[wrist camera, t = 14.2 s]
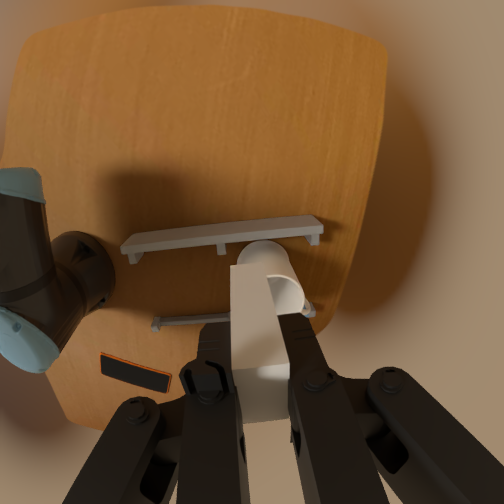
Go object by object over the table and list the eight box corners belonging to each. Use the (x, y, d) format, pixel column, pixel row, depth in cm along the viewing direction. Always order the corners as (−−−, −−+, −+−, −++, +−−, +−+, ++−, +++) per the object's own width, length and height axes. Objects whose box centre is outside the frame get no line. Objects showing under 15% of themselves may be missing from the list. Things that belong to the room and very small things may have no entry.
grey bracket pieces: (156, 322, 48) (149, 342, 42) (133, 233, 41) (119, 246, 36) (311, 307, 49) (320, 326, 43) (311, 214, 43) (323, 225, 37)
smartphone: (167, 392, 56) (167, 394, 55) (101, 371, 53) (100, 373, 52) (172, 372, 53) (171, 375, 53) (100, 349, 50) (99, 352, 50)
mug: (312, 270, 46) (336, 308, 35) (280, 305, 48) (293, 349, 37) (259, 229, 43) (269, 259, 32) (226, 269, 45) (225, 309, 34)
